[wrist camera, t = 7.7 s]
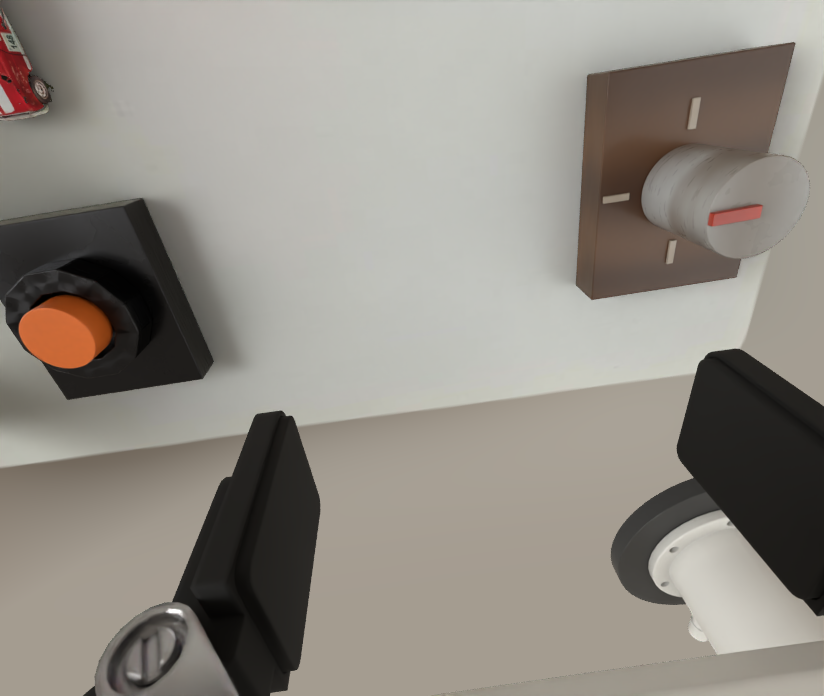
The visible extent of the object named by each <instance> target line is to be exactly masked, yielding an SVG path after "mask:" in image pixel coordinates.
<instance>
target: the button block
mask: <svg viewBox="0 0 824 696" xmlns="http://www.w3.org/2000/svg"><path fill="white" fill-rule="evenodd" d="M59 295H73V296H78V297H81V298H84V299H86V300H88V301H90V302H92V303H93V304H95V305H96V306H97V307H99V308H100V309H101V310H102V311H103V312H104V313H105V314H106V316H107V317H108V319H109V321H110V323H111V325H112V330H113V335H112V340H111V342H110V343H109V345H108V346H107V347H106V348H105V349H104V350H103V351H101V352H100V353H99V354H98V355H97V356H96V357H95V358H94V359H93V360H92V361H91V362H89V363H88V364H86V365H84V366H82V367H78V368H61V367H56V366H53V365H50V364H48V363H46V362H44V361H42V360H40V359H39V358H37V357H36V356H35V355H33V354H32V353H31V352H30V351H29V350H28V349H27V347H26V346H25V345H24V343H23V341H22V339H21V337H20V334H19V324H20V321H21V319H22V317H23V316H24V315H25V314H26V313H27V312H29V311H30V310H32V309H34V308H35V307H37V306H39V305H40V304H42V303H44V302H45V301H47V300H49V299H50V298H52V297H55V296H59ZM0 300H1V302H2V303H3V305H4V306H5V308H6V323H7V325H8V326H9V328H10V329H11V331H12V332H13V334H14V335H15V337H16V338H17V340H18V341H19V342H20V344H21V345H22V347H23V348H24V350H26V351H27V352H28V353H30V354H31V355H33V356H34V357H36V358H37V359H39V360H40V361H42V363H43V364H44V366H45V367H46V369H47V370H48V372H49V373H50V375H51V376H52V378H53V379H54V381H55V382H56V384H57V385H58V387H59V388H60V390H61V391H62V393H63V394H64V396H65V397H66V399H67V400H70V399H76V398H83V397H89V396H96V395H102V394H109V393H115V392H121V391H128V390H134V389H141V388H147V387H154V386H160V385H167V384H173V383H180V382H186V381H192V380H199V379H203V378H204V377H205V375H206V373H207V372H208V370H209V369H210V367H211V365H212V364H213V362H214V360H213V358H212V356H211V354H210V351H209V349H208V347H207V344H206V342H205V340H204V337H203V335H202V333H201V331H200V328H199V326H198V324H197V321H196V319H195V317H194V315H193V312H192V310H191V308H190V305H189V303H188V301H187V298H186V296H185V294H184V292H183V289H182V287H181V285H180V282H179V280H178V278H177V276H176V273H175V271H174V269H173V266H172V264H171V262H170V259H169V257H168V255H167V253H166V250H165V248H164V246H163V243H162V241H161V239H160V237H159V234H158V232H157V230H156V227H155V225H154V223H153V220H152V218H151V216H150V214H149V211H148V209H147V207H146V204H145V202H144V200H143V198H138V199H132V200H126V201H120V202H113V203H107V204H101V205H94V206H88V207H82V208H76V209H69V210H63V211H57V212H51V213H44V214H38V215H32V216H26V217H19V218H13V219H7V220H1V221H0Z"/></svg>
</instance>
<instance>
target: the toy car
mask: <svg viewBox="0 0 824 696" xmlns="http://www.w3.org/2000/svg"><path fill="white" fill-rule="evenodd" d="M0 9H2V8H0ZM2 13H3V15H4V18H5V19H3V18H2V16H1V12H0V120H4V121H11V120H19V119H25V118H30V117H33V118H34V117H36V116H37V115H40V114H45V113H47V112H48V110H49V109H48V106H47V105H46V106H47V108H45V109H44V110H41V111H37V110H40V109H42V108H43V107H44V105H43V104H47V103H49V102H51V101H52V99H51V96H50V94H49V92H48V88H49V87H51V85H50V86H49V85H48V84H47V83H46V82H45V81H43V79H40V78H39V77H38V76H35V75H31V76H30V75H29V73H28V72H31V71H32V65H31V63H30V61H29V59H28V57H27V55H26V53H25V51H24V49H23V47H22V45H21V43H20V42H19V40H18V36H16V35H15V33H14V32H15V31H14V30H13V29H12V27H11V25H12V24H11V25H10V23H9V21H8V20H7V17H6V16H5V14H4V12H3V10H2ZM2 20H4V23H5V21H6V23H7V25H8V26H7V25H6V23H5V26H6V29H5V28H4V27H3V26H2V25H1V23H3V22H2ZM9 28H10V29H9ZM1 75H4V76H7V77H10V78H7V79H6V80H7V81H8V80H11V83H8V82H7V81H5V80H3V79H2V78H1ZM28 77H29V79H30V82H29V80H28ZM36 85H37V87H36ZM16 89H17V90H18V89H19V92H20V93H19V92H18V91H17V90H16ZM52 89H53V86H52V87H51V91H52ZM53 92H54V91H53ZM24 97H26V101H27V103H26V102H25V100H24ZM50 100H51V101H50ZM19 103H20V104H19ZM34 111H36V112H34ZM29 112H30V113H31V112H32V113H31V114H29ZM1 116H2V117H1Z"/></svg>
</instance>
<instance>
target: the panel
mask: <svg viewBox="0 0 824 696" xmlns="http://www.w3.org/2000/svg"><path fill="white" fill-rule="evenodd" d="M794 47H795V43H794V42H791V43H784V44H777V45H770V46H762V47H755V48H749V49H743V50H737V51H730V52H724V53H718V54H712V55H706V56H699V57H693V58H687V59H681V60H675V61H668V62H662V63H656V64H650V65H644V66H637V67H631V68H625V69H619V70H612V71H606V72H600V73H594V74H589V75H588V76H587V93H586V111H585V130H584V148H583V166H582V184H581V202H580V221H579V239H578V257H577V275H576V286H577V287H578V288H580V289H581V290H582V291H583V292H584V293H585V294H586V295H587V296H588V297H589V298H590V299H591V300H594V299H600V298H607V297H613V296H620V295H626V294H633V293H639V292H646V291H652V290H658V289H665V288H671V287H678V286H684V285H691V284H697V283H704V282H710V281H716V280H723V279H729V278H736V277H737V273H738V269H739V265H740V261H741V259H733V258H727V257H724V256H722V255H719V254H717V253H715V252H713V251H711V250H708V249H706V248H704V247H702V246H700V245H697V244H695V243H693V242H691V241H689V240H686V239H684V238H682V237H680V236H678V235H675V234H673V233H671V232H669V231H667V230H664V229H662V228H660V227H658V226H656V225H654V224H653V223H651V222H650V221H649V220H648V219H647V217H646V216H645V214H644V211H643V208H642V202H641V198H642V190H643V186H644V183H645V181H646V178H647V176H648V174H649V173H650V171H651V170H652V168H653V167H654V166H655V164H656V163H657V162H658V161H659V160H660V159H661V158H662V157H663V156H665V155H666V154H667V153H669V152H670V151H672V150H674V149H676V148H678V147H680V146H683V145H687V144H705V145H712V146H719V147H727V148H734V149H741V150H749V151H756V152H763V153H768V150H769V146H770V142H771V138H772V134H773V130H774V126H775V122H776V118H777V114H778V110H779V106H780V102H781V98H782V94H783V90H784V86H785V82H786V78H787V74H788V70H789V67H790V63H791V59H792V55H793V51H794Z"/></svg>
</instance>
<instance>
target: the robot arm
mask: <svg viewBox="0 0 824 696" xmlns="http://www.w3.org/2000/svg"><path fill="white" fill-rule="evenodd" d="M677 454H678V457H679V459H680V461H681V462H682V464H683V465H684V466H685V467H686V468H687V470H688V471H689V472H690V473H691V474H692V476H693V477H694V478H695V479H696V480H697V482H698V483H699V484H700V485H701V486H702V488H703V489H704V490H705V491H706V492H707V494H708V495H709V496H710V497H711V498H712V500H713V501H714V502H715V503H716V504H717V506H718V507H719V508H720V509H721V510H717V511H713V512H709V513H706V514H703V515H700V516H698V517H695V518H693V519H691V520H689V521H687V522H685V523H683V524H682V525H680V526H678V527H677V528H675V529H674V530H672V531H671V532H670V533H669V534H667V535H666V536H665V537H664V538H663V539H662V540H661V541H660V542H659V543H658V544H657V546H656V547H655V549H654V550H653V552H652V554H651V556H650V559H649V564H648V570H649V573H650V576H651V577H652V579H653V581H654V582H655V584H656V586H657V587H658V588H659V589H660V590H662V591H664V592H665V593H667V594H670V595H673V596H677V597H682V598H683V600H684V601H685V603H686V604H687V606H688V608H689V610H690V612H691V614H692V617H691V619H690V622H689V625H688V631H689V632H690V634H691V636H693V637H694V638H695V639H696V640H699V641H701V642H703V641H704V642H706V641H707V640H708V641H709V642H710V644H711V645H712V647H713V649H714V650H715V652H716V654H717V655H712V656H705V657H698V658H691V659H684V660H677V661H669V662H662V663H655V664H647V665H640V666H634V667H626V668H619V669H612V670H605V671H598V672H590V673H584V674H576V675H569V676H562V677H555V678H548V679H542V680H535V681H528V682H521V683H514V684H507V685H500V686H493V687H487V688H480V689H473V690H467V691H459V692H452V693H445V694H438V695H431V696H824V406H822V405H821V404H820V403H818V402H817V401H815V400H814V399H812V398H811V397H809V396H808V395H807V394H805V393H804V392H802V391H801V390H799V389H798V388H796V387H795V386H794V385H792V384H790V383H789V382H788V381H786V380H785V379H783V378H782V377H781V376H779V375H778V374H776V373H775V372H773V371H772V370H770V369H769V368H767V367H766V366H765V365H763V364H762V363H760V362H759V361H757V360H756V359H755V358H753V357H751V356H750V355H749V354H747V353H746V352H744V351H742V350H740V349H730V350H722V351H715V352H710V353H708V354H707V355H706V356H705V358H704V360H701V361H700V362H699V365H698V368H697V372H696V375H695V379H694V383H693V387H692V391H691V395H690V399H689V402H688V406H687V410H686V413H685V417H684V421H683V425H682V429H681V433H680V436H679V440H678V444H677ZM319 517H320V498H319V494H318V491H317V488H316V485H315V482H314V479H313V476H312V473H311V469H310V467H309V463H308V460H307V457H306V454H305V451H304V448H303V445H302V442H301V439H300V436H299V432H298V429H297V426H296V423H295V420H294V418H293V417H292V416H285V413H284V412H283V411H275V412H267V413H260V414H257V415H255V417H254V419H253V422H252V424H251V427H250V430H249V432H248V435H247V438H246V440H245V443H244V446H243V448H242V451H241V454H240V456H239V459H238V462H237V464H236V467H235V469H234V472H233V475H232V477H226V478H224V479H223V480H222V481H221V483H220V485H219V487H218V490H217V492H216V494H215V497H214V499H213V502H212V504H211V507H210V509H209V511H208V514H207V516H206V519H205V521H204V524H203V527H202V529H201V532H200V534H199V536H198V539H197V541H196V544H195V546H194V549H193V551H192V554H191V556H190V559H189V561H188V564H187V566H186V569H185V571H184V574H183V576H182V579H181V581H180V584H179V586H178V589H177V591H176V594H175V596H174V598H173V601H172V602H168V603H162V604H159V605H156V606H154V607H151V608H149V609H147V610H145V611H144V612H142V613H140V614H139V615H137V616H135V617H134V618H133V619H132V620H131V621H129V622H128V623H127V624H126V625H125V626H124V627H123V628H121V629H120V631H119V632H118V633H117V634H116V635H115V637H114V638H113V639H112V640H111V641H110V643H109V644H108V646H107V647H106V649H105V651H104V653H103V655H102V657H101V659H100V660H99V663H98V667H97V670H96V674H95V686H94V687H93V688H91V689H90V690H89V691H88V692H87V693H86V694H84V695H83V696H270V693H272V692H279V691H286V690H287V689H288V683H289V676H290V671H294V670H297V669H298V667H299V664H300V659H301V651H302V644H303V637H304V629H305V622H306V614H307V607H308V599H309V592H310V584H311V576H312V569H313V561H314V554H315V547H316V539H317V531H318V524H319Z"/></svg>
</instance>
